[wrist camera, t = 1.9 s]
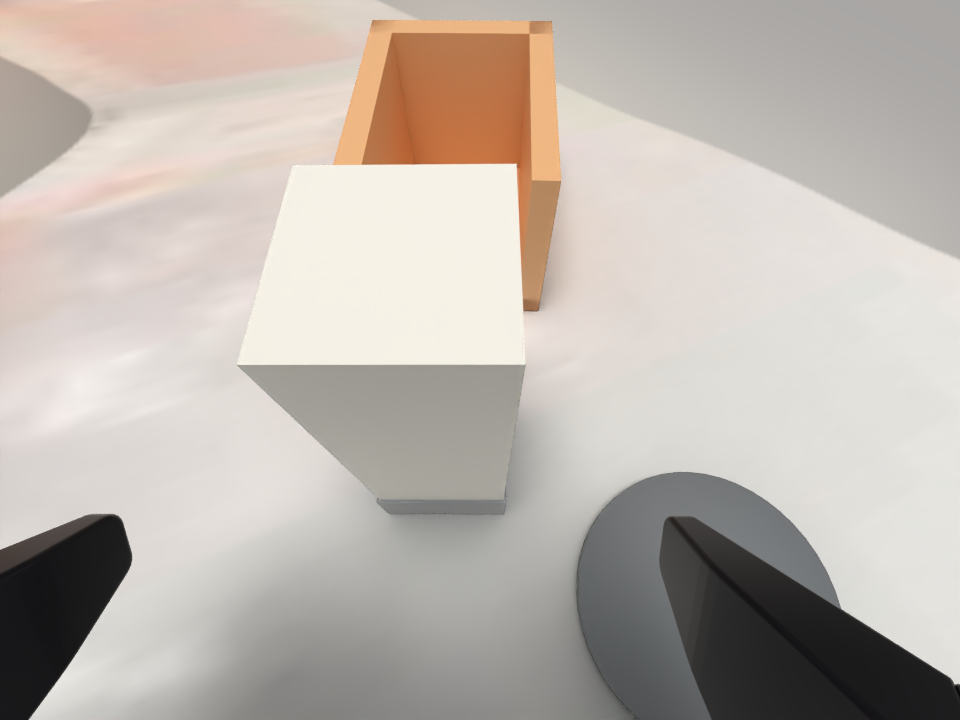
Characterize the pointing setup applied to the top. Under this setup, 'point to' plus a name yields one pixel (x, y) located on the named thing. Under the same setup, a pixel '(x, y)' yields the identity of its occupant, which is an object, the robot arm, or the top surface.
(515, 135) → the chute
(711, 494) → the pad dark
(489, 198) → the tall white pillar block
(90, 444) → the top surface
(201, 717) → the top surface
